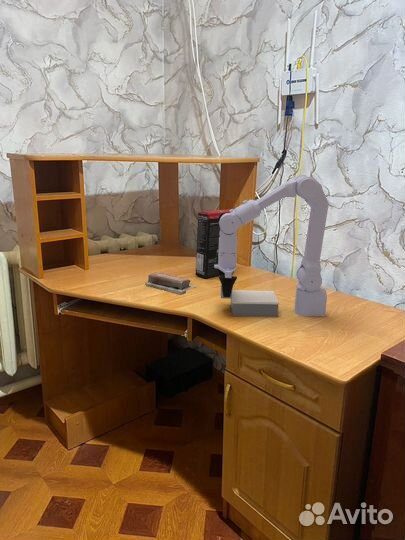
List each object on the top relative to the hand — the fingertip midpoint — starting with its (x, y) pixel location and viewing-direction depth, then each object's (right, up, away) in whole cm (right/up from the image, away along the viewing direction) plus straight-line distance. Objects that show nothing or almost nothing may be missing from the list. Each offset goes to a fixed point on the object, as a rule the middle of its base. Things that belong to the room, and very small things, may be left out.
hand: (226, 293), depth 135 cm
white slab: (+7, -2, +1) cm, 8 cm away
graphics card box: (-2, +5, +44) cm, 45 cm away
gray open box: (+9, -6, +2) cm, 11 cm away
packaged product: (-20, 0, +26) cm, 33 cm away
